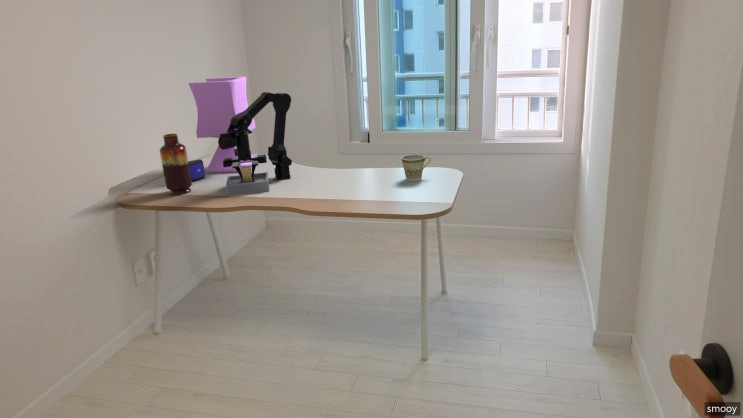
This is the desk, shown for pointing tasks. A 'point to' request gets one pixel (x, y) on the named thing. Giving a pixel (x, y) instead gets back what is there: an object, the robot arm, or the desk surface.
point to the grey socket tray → (247, 184)
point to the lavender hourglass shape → (220, 114)
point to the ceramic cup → (414, 166)
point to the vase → (175, 165)
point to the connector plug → (246, 174)
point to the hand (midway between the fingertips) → (247, 179)
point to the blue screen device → (196, 169)
